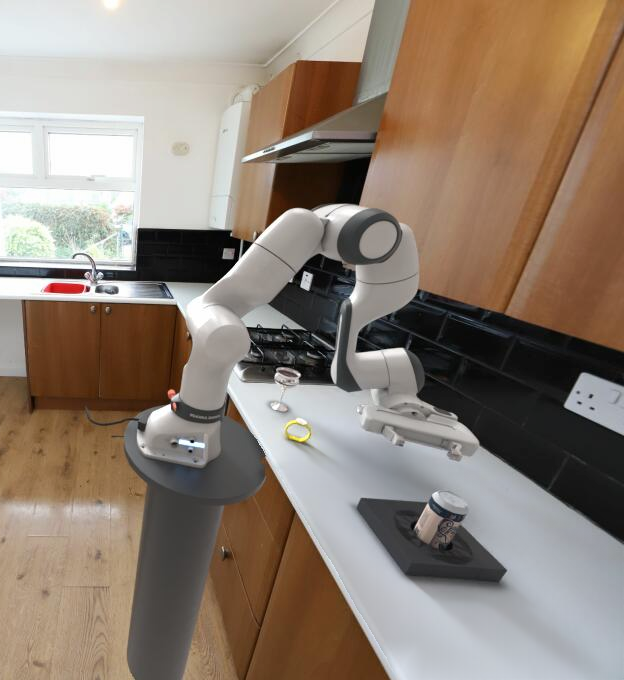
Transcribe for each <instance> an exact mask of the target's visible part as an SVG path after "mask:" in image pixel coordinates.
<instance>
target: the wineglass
mask: <svg viewBox="0 0 624 680" xmlns="http://www.w3.org/2000/svg"><path fill="white" fill-rule="evenodd" d="M275 370H276V372H275V374H274V377H273V380H274V382H275V383H276V385H277V386H278V387H279V388H281V392H280V393H281V394H280V396H279V397H280V398H279V402H276V401H275V402H271V403H270V405H269V406H270V408H272V409H273V410H275V411H278V412H287V411H288V406H286V405H285V404H283V403H282V401H283V397H284V395H285V391H287V390H291V389H292V390H293V389H294V388H296V387H297V386H298V385H299V383H300V377H301V376H302V374H301V373H300V372H299V371H298V370H295V369H293V368H289V367H283V366H282V367H281V366H280V367H277V368H276V369H275Z"/></svg>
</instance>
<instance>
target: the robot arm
mask: <svg viewBox="0 0 624 680" xmlns="http://www.w3.org/2000/svg"><path fill="white" fill-rule="evenodd" d="M318 254H321V255H322V256H324V257H326V258H328V259H330V260H334V261H337V262H344V263H347V264H349V265H354V266H355V284H354V285H355V286H354V288H353V290H352V292H351V294H350V296H349V297H347V298H346V299H345V300H343V301H342V303H341V305H340V309H339V314H338V321H337V328H336V336H335V344H334V353H333V356H332V361H331V365H330V376H331V379H332V382H333V384H334V385H335V386H336V387H337V388H339V389H341V390H342V391H345V392H346V393H354V392H355V393H356V392H362V391H367V390H370V394H371V398H372V401H373V403H374V404H362V405H357V406H355V410H356V412H357V414H359V415H360V416H359V423H360V427H361V428H362V429H363V430H365V432H369V433H372V434H377V435H381V436H383V437H384V438H386V439H387V440H388V441H390V442H391V443H392V445H393V446H396V447H401V448H403V447H404V445H405V443H406V442H407V443H408V442H409V443H413V444H416V445H421V446H425V447H429V448H433V449H436V450H440V451H444V452H447V453H446V457H447V458H448V459H449V460H452V461H454V462H458V463H460V462H461V460H462V459H463V456H465V457H469V458H470V457H473V456H474V455H475V454H476V453H477V451H478V449H479V446H480V440H479V439H478V438H477V436H475V435H474V433H473V432H472V431H471V430H470V429H469V428H468V427H467V426H466V425H464V424H463V423H461V422H459V421H458V419H459V417H458V416H457V415H456V414H455V413H453V412H450V411H447V410H444V409H441V408H439V407H436V406H433V405H432V404H429V403H427V402H425V401H424V400H421V399H420V398H419V397H418V395H417V394H419V393H420V392H421V390H422V388H423V387H424V386H425V380H426V379H425V377H426V376H425V371H424V366H423V364H422V362H421V361H420V359H419V357H418V356H417V355H415V353H413V352H412V351H410V350H409V349H407V348H405V347H395V348H386V349H380V350H372V351H363V352H356V349H357V344H358V343H357V342H358V336H359V333H360V331H361V330H362V329H363V328H364V327H365V326H367V325H368V324H370V323H372V322H374V321H376V320H378V319H380V318H383V317H384V316H387V315H390V314H392V313H395V312H397V311H399V310H401V309H402V308H403V307H405V306H406V305H407V304H409V303H410V302H411V301H412V300H413V299H414V298H415V297H416V295H417V292H418V290H419V284H420V258H419V251H418V246H417V241H416V239H415V234H414V231H413V230H412V228H411V227H410V226H409V225H408V224H405V223H403V222H400V221H398V220H397V218H396V217H395V216H394V215H393V214H391V212H390V213H389V212H388V211H386V210H383V209H381V208H376V207H368V206H367V207H366V206H362V205H358V204H355V203H334V202H333V203H331V202H330V203H325V204H320V205H318V206H316V207H314V208H311V209H306V208H302V207H295V208H294V207H293V208H290V209H288V210H286V211H285V212H284V213H283V214H281V215H279V217H278V218H276V219H275V220H274V221H273V222H272V223H271V224H270V225H269V226H268V227H267V228H266V229H265V230H263V232H262V233H261V234H260V235H259V236H258V237H257V239H256V240H255V241H254V242H253V243H252V244H251V245H250V246H249V248H248V249H247V250H246V251H245V253H244V254H243V255H242V256H240V259H238V261H237V262H236V263H235V265H234V266H233V267H232V268H231V269H230V270H229V271H228V272H227V273H226V274H225V275H224V276H222V278H220V280H218V281H217V282H216V283H215V284H214V285H212V286H211V287H210V288H209V289H208V290H207V291H205V292H204V293H203V294H202V295H200V296H197V297H195V298H194V299H192V301H190V302H189V304H188V305H187V307H186V310H185V325H186V328H187V330H188V332H189V333H190V337H191V340H192V348H191V352H190V355H189V358H188V361H187V363H186V364H185V365H184V367H183V369H182V376H181V384H180V390H179V392H178V393H176V391H175V389H169V390H168V391H167V397H168V399H169V400H170V403H169V404H166V405H167V406H165V407H163V408H160V409H158V410H156V411H153V412H152V413H151V414H150V413H147V412H146V413H145V414H144V415H143V416H142V417H141V419H139V418H134V417H125V418H123V419H120V420H116V421H111V422H98V421H95V420H93V418H91V416H90V412H89V409H88V407H87V406H84V407H83V409H84V411H85V413H86V417H87V419H88V421H89V422H91V423H92V424H94V425H96V426H100V427H107V426H114V425H119V424H122V423H124V422H126V421H131V420H134V421H138V427H137V429H138V431H137V446H138V449H139V450H140V452H141V453H142V455H143V456H145V457H147V458H152V459H157V460H162V461H167V462H172V463H177V464H181V465H186V466H191V467H196V468H204V467H205V466H206V464H207V463H208V462H209V461H211V460H213V459H215V458H216V457H218V456H219V454H220V452H221V445H220V424H221V422H222V419H223V416H224V415H225V411H226V402H225V399H226V395H227V390H228V386H229V382H230V378H231V376H232V373H233V371H234V369H235V367H236V365H237V364H239V363H240V362H241V361H242V360H244V359H245V358H246V356H248V353H249V351H250V349H251V341H252V340H251V337H250V334H249V331H248V328H247V326H246V324H245V322H244V321H243V320H242V318H244V317H245V316H247V314H249V313H250V312H252V311H254V310H255V309H256V308H259V307H261V306H265V305H267V304H269V303H271V302H272V301H273V300H274V299H275V298H276V297H277V295H278V294H279V293H280V292H281V291H282V290H283V289H284V288H285V286H286V285H287V284H288V283H289V282H290V281H291V280H292V279H293V278H294V276H296V274H298V273H299V271H300V270H301V269H302V268H303V267H304V265H305V264H306V263H307V262H308V261H309V260H310V259H311V258H313V257H314V256H316V255H318Z"/></svg>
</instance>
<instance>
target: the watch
mask: <svg viewBox="0 0 624 680" xmlns="http://www.w3.org/2000/svg"><path fill="white" fill-rule="evenodd" d="M292 425H297V426H300V427H302V428H304V427H305V428H307V430H308V434H307V435H306V436H304V437H301V438H299V437H296V436H293V435H290V433H289V432H288V429H289V428H290V426H292ZM284 430H285V435H286V437H287V438H288V439H289V440H292V441H295V442H298V443H304V442H307V441H308V440H309V439H311V436H312V429H311V426H310V425H309V424H308V422H307V420H305V419H303V418H300V417H297V418H296V419H294V420H290V421H289V422H287V423H286V424H285V427H284Z"/></svg>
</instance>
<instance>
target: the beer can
mask: <svg viewBox="0 0 624 680" xmlns="http://www.w3.org/2000/svg"><path fill="white" fill-rule="evenodd" d="M468 513H469V507H468V504H467V502H466V500H465V499H463V498H462V497H461V496H460V495H458V494H456V493H455V492H454V493H453V492H451V491H449V490H443V489H440V490H437V491H435V492H433V493H432V494H431V496H430V498H429V500H428V504H427V505H426V507H425V509H424V511H423V513H422V515H421V517H420V519H419V520H418V522H417V524H416V526H415V528H414V530H413V533H414V534H415V535H416V536H417V537H418V538H419V539H420V540H422V541H423V542H424V543H426V544H428V545H430V546H432V547H434V548H437V549H439V550H445V549H446V548H447V546H448V544H449V543H450V541H451V539H452V538H453V536H454V535H455V533H456V531H457V530H458V528H459V526H460V525H462V522H464V519H465V518H466V517H467V515H468Z"/></svg>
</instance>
